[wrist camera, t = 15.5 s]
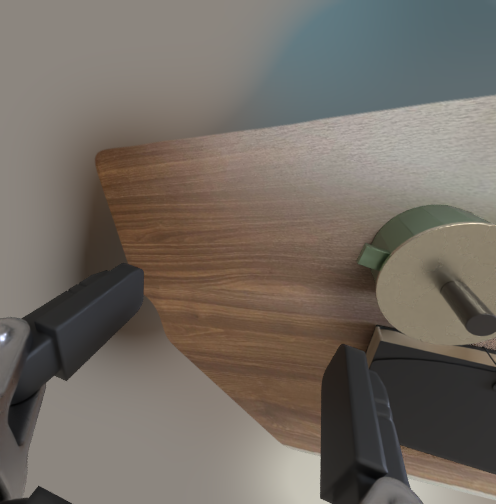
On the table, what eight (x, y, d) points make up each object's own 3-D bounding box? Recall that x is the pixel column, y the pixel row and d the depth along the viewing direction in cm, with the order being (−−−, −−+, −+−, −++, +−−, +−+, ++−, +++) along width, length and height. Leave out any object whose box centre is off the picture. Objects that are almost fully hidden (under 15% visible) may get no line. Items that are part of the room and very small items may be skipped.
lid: (416, 200, 25) (445, 220, 19) (583, 248, 23) (671, 287, 17) (353, 310, 32) (359, 350, 26) (476, 355, 30) (513, 409, 24)
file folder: (682, 410, 30) (557, 501, 40) (644, 380, 33) (538, 471, 44) (381, 341, 37) (343, 434, 48) (376, 322, 40) (342, 412, 51)
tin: (378, 184, 32) (393, 199, 25) (540, 231, 30) (612, 264, 22) (335, 271, 39) (338, 304, 31) (466, 317, 36) (502, 364, 29)
